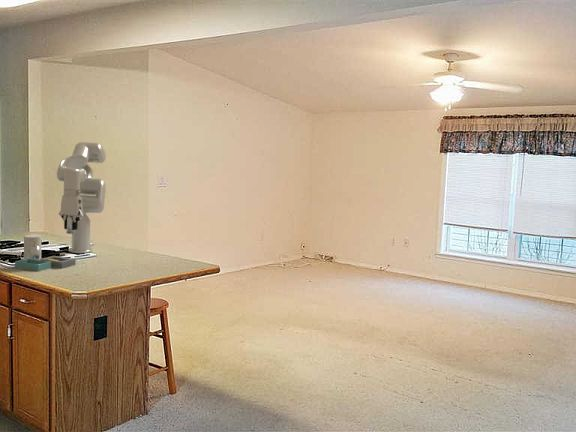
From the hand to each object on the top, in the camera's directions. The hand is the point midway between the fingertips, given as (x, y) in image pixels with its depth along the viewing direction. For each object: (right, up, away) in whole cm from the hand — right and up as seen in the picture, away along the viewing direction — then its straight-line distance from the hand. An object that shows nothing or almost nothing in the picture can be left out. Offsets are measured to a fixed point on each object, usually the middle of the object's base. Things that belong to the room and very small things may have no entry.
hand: (70, 228), depth 278 cm
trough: (-13, -18, -12) cm, 26 cm away
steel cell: (0, -2, 0) cm, 2 cm away
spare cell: (-17, -17, -2) cm, 24 cm away
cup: (-22, -16, +6) cm, 28 cm away
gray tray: (-5, -18, -3) cm, 19 cm away
